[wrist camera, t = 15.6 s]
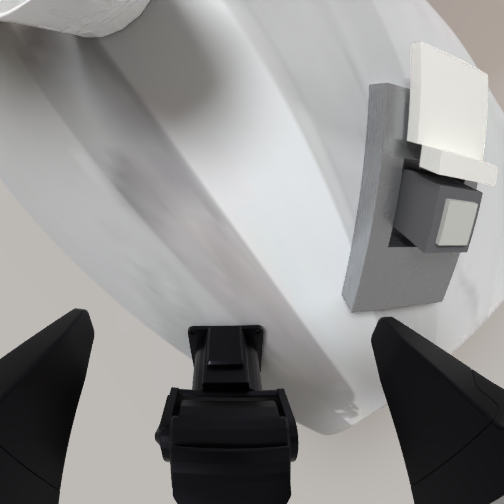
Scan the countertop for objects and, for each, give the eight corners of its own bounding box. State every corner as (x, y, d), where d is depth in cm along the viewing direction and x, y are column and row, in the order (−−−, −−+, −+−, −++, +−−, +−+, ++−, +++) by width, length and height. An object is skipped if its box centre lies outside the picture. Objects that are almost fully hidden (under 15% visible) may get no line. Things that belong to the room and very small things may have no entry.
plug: (431, 224, 21) (470, 254, 16) (389, 223, 20) (427, 256, 16) (441, 173, 19) (486, 194, 14) (398, 166, 18) (444, 187, 13)
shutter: (469, 174, 16) (497, 187, 13) (404, 161, 16) (433, 173, 13) (477, 74, 12) (506, 76, 10) (410, 43, 12) (439, 37, 9)
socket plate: (429, 286, 24) (442, 301, 22) (341, 294, 24) (351, 312, 21) (465, 114, 17) (485, 117, 14) (369, 84, 16) (387, 82, 14)
